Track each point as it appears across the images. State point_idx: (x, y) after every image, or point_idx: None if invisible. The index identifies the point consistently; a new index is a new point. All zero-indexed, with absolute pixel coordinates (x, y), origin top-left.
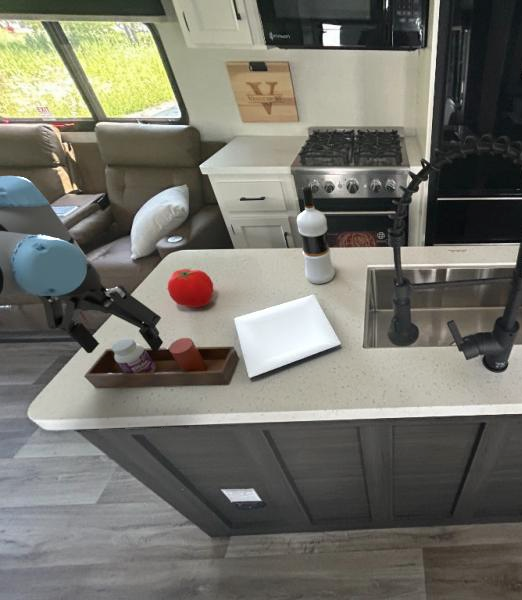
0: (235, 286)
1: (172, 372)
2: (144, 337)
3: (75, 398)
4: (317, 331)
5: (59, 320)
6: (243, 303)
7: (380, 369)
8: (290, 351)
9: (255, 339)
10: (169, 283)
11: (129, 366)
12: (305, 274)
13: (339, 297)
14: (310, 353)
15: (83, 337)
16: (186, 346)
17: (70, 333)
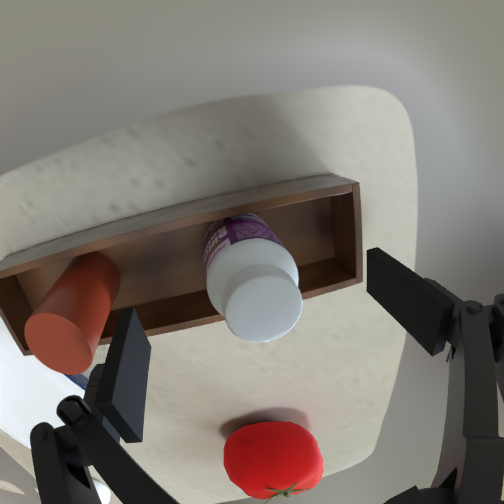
0: (214, 465)
1: (88, 250)
2: (112, 366)
3: (355, 139)
4: None
5: (495, 338)
6: (161, 444)
7: None
8: None
9: (43, 376)
10: (311, 467)
11: (228, 237)
12: (101, 489)
13: (23, 450)
14: None
15: (405, 297)
16: (37, 343)
17: (446, 299)
